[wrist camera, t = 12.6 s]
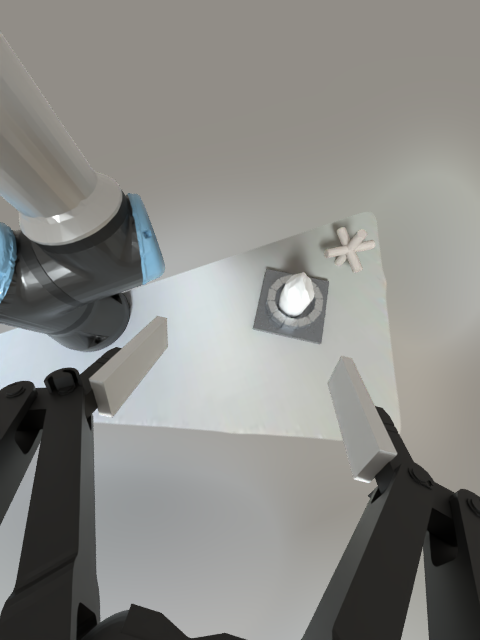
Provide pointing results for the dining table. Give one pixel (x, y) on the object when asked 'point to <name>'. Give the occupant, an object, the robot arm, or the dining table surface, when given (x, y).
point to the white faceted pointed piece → (296, 295)
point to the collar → (278, 323)
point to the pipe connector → (350, 248)
